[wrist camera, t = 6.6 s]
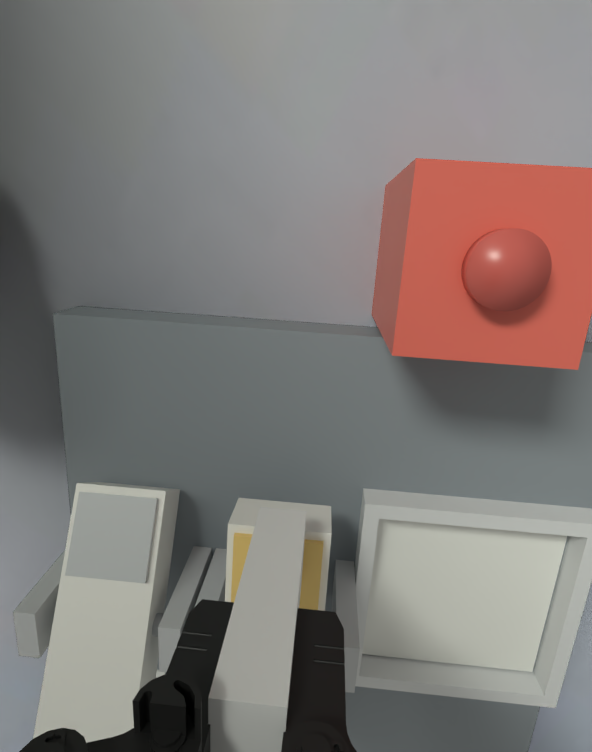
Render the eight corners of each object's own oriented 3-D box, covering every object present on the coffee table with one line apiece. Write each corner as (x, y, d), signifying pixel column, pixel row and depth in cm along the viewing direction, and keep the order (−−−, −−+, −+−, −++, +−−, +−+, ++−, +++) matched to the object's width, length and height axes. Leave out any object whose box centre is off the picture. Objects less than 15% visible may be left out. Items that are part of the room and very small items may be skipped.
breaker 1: (94, 481, 20) (68, 482, 18) (184, 489, 20) (169, 491, 18) (51, 746, 19) (17, 782, 16) (150, 758, 18) (129, 796, 16)
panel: (78, 306, 21) (-33, 338, 14) (605, 343, 20) (735, 396, 13) (107, 696, 27) (38, 838, 21) (505, 741, 26) (561, 906, 20)
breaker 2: (233, 497, 18) (220, 526, 16) (336, 506, 18) (337, 537, 16) (223, 718, 20) (211, 771, 18) (316, 729, 20) (315, 783, 18)
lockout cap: (385, 185, 18) (420, 154, 11) (518, 193, 18) (641, 166, 11) (371, 314, 20) (394, 361, 13) (494, 323, 20) (589, 376, 12)
